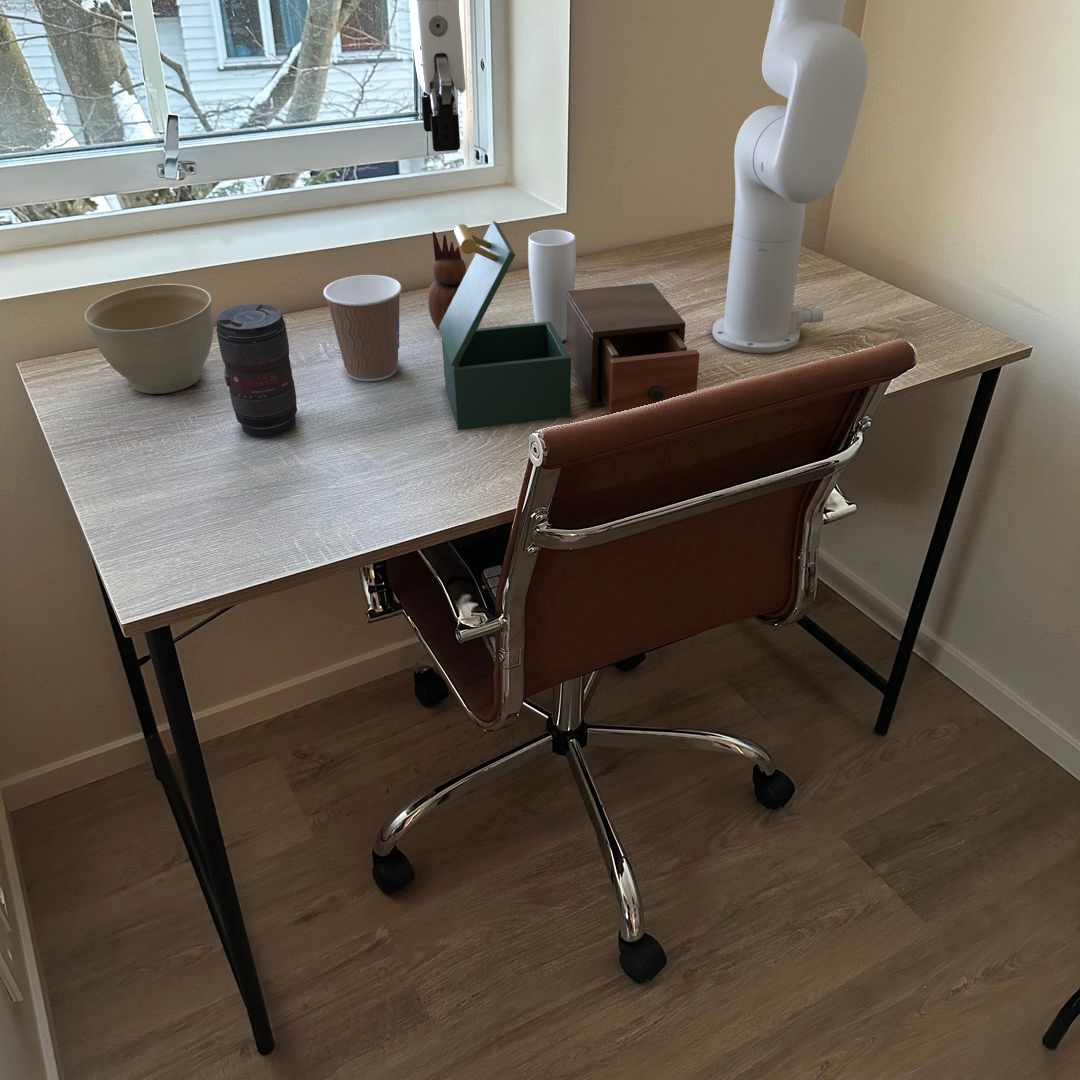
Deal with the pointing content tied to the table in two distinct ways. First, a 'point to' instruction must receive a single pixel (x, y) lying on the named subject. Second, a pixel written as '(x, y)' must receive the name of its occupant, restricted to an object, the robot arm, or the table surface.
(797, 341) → the robot arm
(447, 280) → the wooden figurine
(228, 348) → the camera lens
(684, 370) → the drawer
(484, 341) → the chest
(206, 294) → the planter bowl
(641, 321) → the cabinet
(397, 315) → the coffee cup
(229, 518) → the table surface
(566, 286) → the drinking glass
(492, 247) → the lid
